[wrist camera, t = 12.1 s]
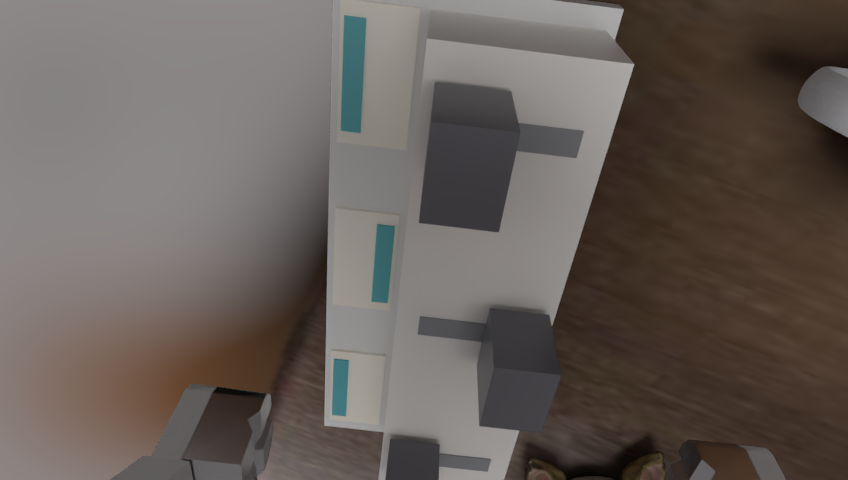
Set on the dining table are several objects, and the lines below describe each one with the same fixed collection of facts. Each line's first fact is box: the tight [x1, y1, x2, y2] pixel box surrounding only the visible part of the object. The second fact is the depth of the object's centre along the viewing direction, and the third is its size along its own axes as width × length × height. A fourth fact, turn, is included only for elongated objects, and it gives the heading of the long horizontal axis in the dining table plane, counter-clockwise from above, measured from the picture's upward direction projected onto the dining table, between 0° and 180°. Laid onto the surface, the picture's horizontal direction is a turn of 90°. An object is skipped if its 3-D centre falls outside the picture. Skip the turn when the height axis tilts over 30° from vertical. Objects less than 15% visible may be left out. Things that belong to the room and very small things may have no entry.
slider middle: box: [477, 308, 561, 433], centre depth 28 cm, size 4×3×4 cm
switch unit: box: [324, 0, 634, 480], centre depth 33 cm, size 31×13×6 cm, turn 174°
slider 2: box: [419, 82, 521, 232], centre depth 22 cm, size 4×3×4 cm
